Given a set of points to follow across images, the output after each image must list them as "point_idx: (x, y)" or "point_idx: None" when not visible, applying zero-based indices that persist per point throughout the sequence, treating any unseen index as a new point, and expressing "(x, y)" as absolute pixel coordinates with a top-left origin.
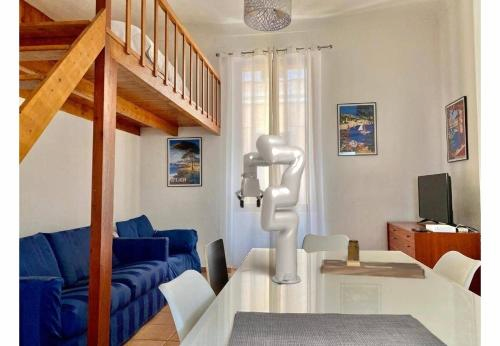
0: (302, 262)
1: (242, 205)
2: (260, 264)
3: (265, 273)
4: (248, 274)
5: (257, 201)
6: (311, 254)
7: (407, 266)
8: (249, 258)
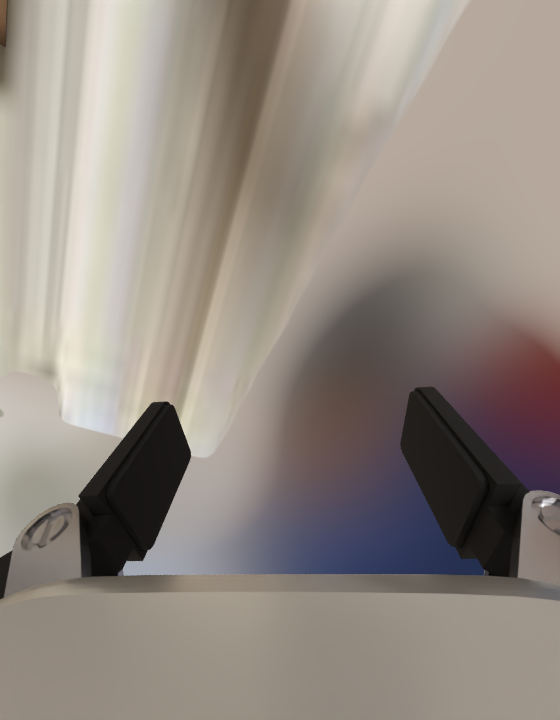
0: (89, 209)
1: (448, 413)
2: (265, 232)
3: (304, 16)
4: (388, 26)
5: (146, 505)
6: (40, 336)
7: None
8: (271, 345)
